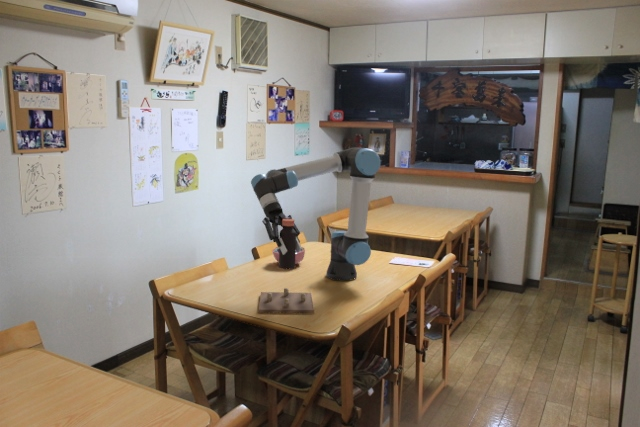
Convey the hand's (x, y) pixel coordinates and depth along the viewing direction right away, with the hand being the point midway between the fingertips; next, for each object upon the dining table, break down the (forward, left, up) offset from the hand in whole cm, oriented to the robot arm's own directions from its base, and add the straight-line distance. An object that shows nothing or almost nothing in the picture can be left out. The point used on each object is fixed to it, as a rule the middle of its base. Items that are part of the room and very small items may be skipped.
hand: (292, 251), depth 218 cm
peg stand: (+2, -3, -23) cm, 24 cm away
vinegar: (+2, -3, -8) cm, 9 cm away
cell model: (0, -67, -24) cm, 71 cm away
